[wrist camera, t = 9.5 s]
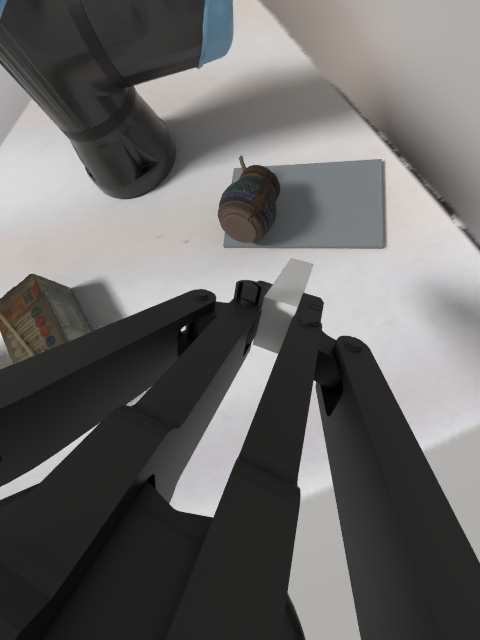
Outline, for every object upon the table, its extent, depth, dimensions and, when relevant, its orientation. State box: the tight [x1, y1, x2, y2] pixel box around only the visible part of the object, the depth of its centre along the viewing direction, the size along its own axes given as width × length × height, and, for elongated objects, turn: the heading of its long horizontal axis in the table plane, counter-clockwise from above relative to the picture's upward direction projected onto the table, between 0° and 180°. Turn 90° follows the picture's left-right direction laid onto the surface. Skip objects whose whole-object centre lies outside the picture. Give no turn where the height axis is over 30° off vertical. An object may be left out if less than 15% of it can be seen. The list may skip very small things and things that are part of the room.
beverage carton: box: [0, 274, 92, 364], centre depth 33 cm, size 8×19×7 cm, turn 36°
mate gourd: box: [218, 156, 280, 243], centre depth 31 cm, size 7×8×10 cm
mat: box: [223, 159, 383, 248], centre depth 34 cm, size 13×20×1 cm, turn 84°
